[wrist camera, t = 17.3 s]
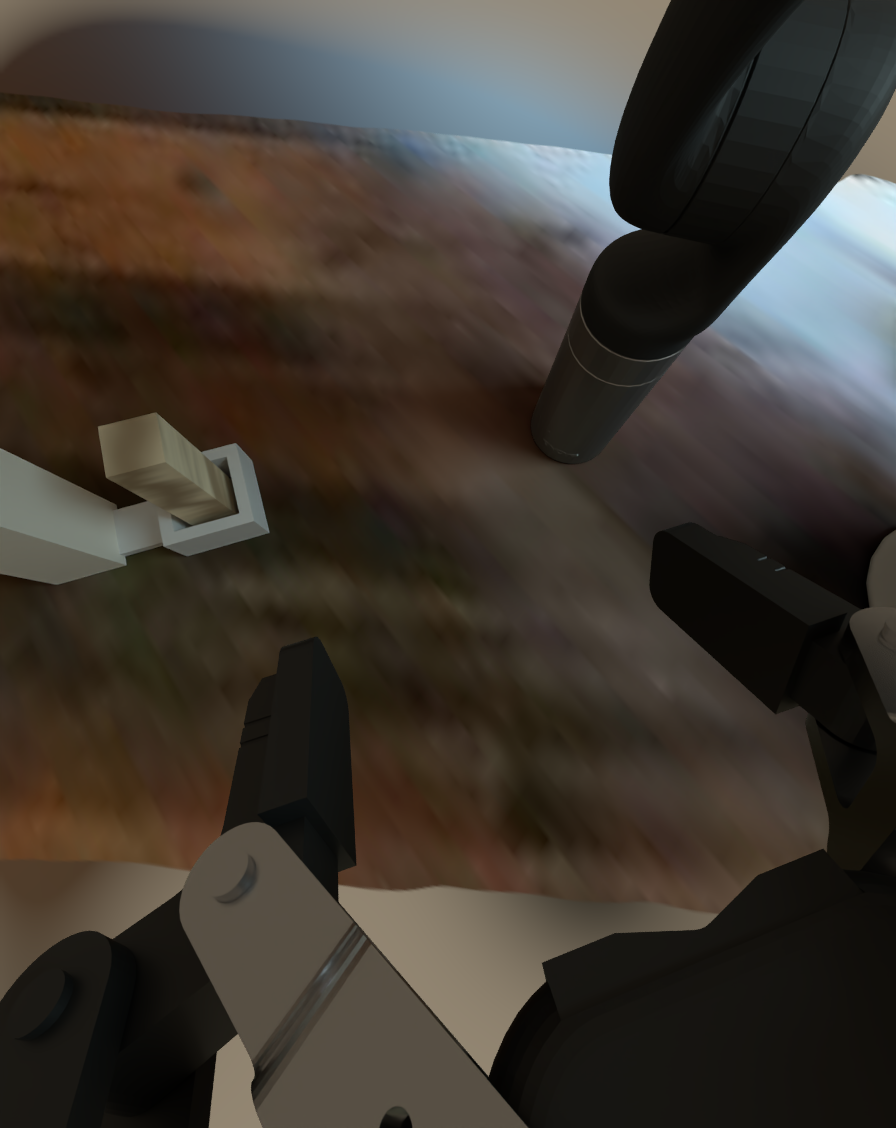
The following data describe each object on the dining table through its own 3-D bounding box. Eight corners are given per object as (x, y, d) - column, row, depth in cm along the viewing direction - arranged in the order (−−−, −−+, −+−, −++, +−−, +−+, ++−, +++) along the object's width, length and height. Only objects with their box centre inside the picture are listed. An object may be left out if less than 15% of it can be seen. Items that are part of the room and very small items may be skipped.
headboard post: (252, 460, 47) (13, 200, 21) (269, 532, 46) (33, 351, 19) (43, 516, 45) (-530, 307, 18) (53, 594, 44) (-566, 489, 17)
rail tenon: (237, 484, 47) (155, 412, 33) (245, 520, 46) (165, 462, 32) (196, 495, 46) (97, 427, 33) (204, 532, 45) (106, 477, 32)
